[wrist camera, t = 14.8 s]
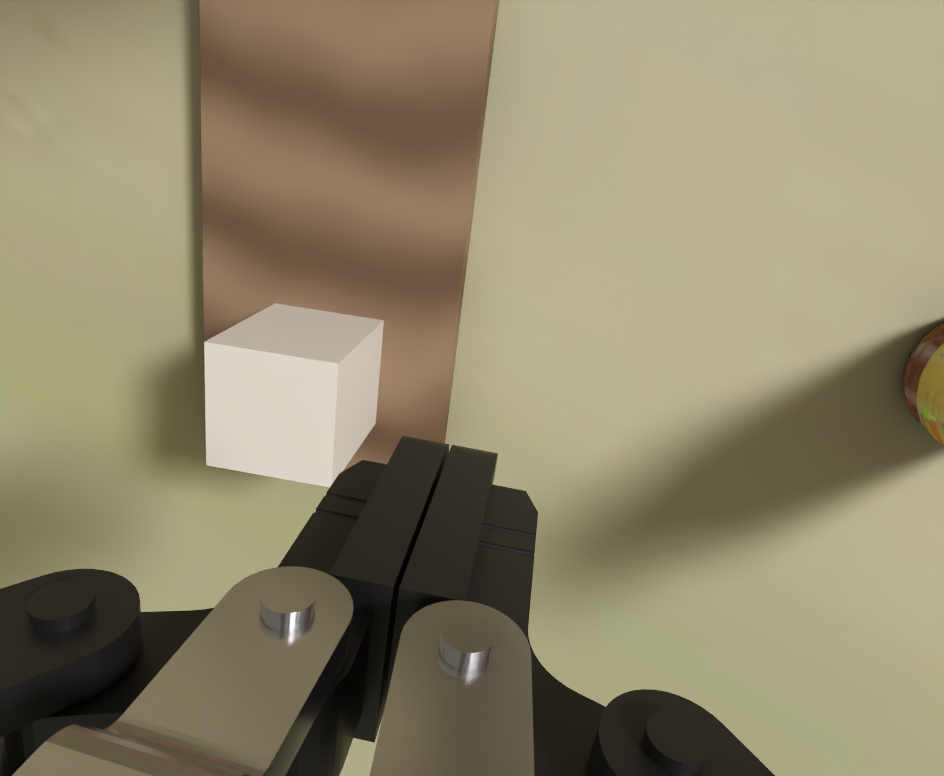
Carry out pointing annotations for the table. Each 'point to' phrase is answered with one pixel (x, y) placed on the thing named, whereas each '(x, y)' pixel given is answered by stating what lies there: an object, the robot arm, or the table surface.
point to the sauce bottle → (927, 383)
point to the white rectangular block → (291, 392)
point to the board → (347, 177)
